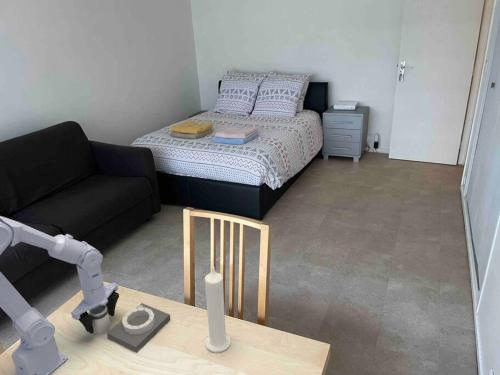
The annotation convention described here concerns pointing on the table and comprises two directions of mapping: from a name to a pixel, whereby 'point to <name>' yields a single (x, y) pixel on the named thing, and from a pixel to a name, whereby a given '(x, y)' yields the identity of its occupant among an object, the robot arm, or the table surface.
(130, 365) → the table surface
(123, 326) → the camera body
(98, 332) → the lens
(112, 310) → the robot arm
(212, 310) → the candle
